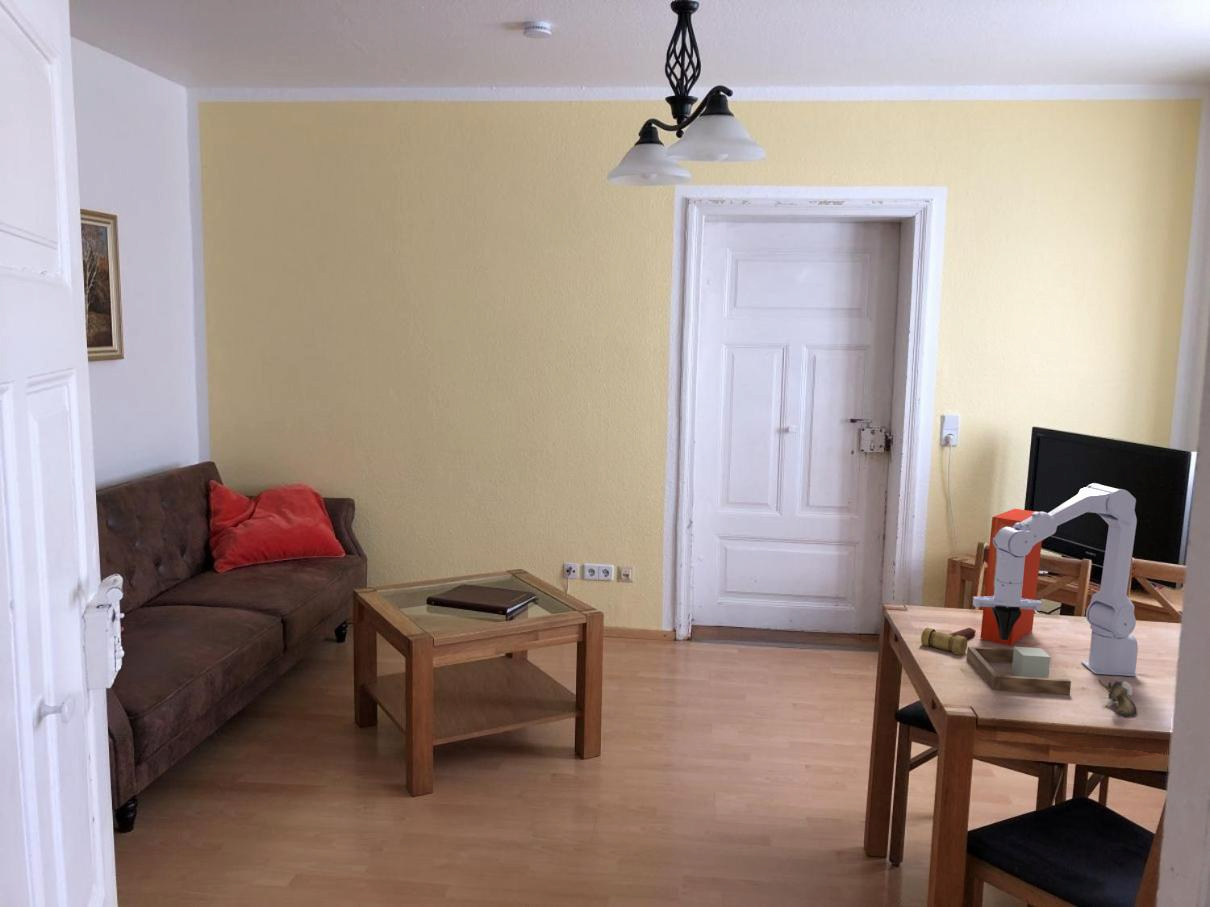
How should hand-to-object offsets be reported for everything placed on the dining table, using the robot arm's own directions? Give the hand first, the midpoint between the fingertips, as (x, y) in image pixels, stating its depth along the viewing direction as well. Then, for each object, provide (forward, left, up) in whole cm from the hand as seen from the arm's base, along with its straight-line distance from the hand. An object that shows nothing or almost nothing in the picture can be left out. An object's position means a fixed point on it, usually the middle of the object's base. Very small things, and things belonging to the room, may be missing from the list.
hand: (1003, 638), depth 220 cm
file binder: (-12, -31, -9) cm, 34 cm away
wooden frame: (-4, 0, -8) cm, 9 cm away
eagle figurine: (-19, +17, -9) cm, 27 cm away
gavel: (+3, -23, -9) cm, 25 cm away
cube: (-7, 0, -9) cm, 11 cm away
